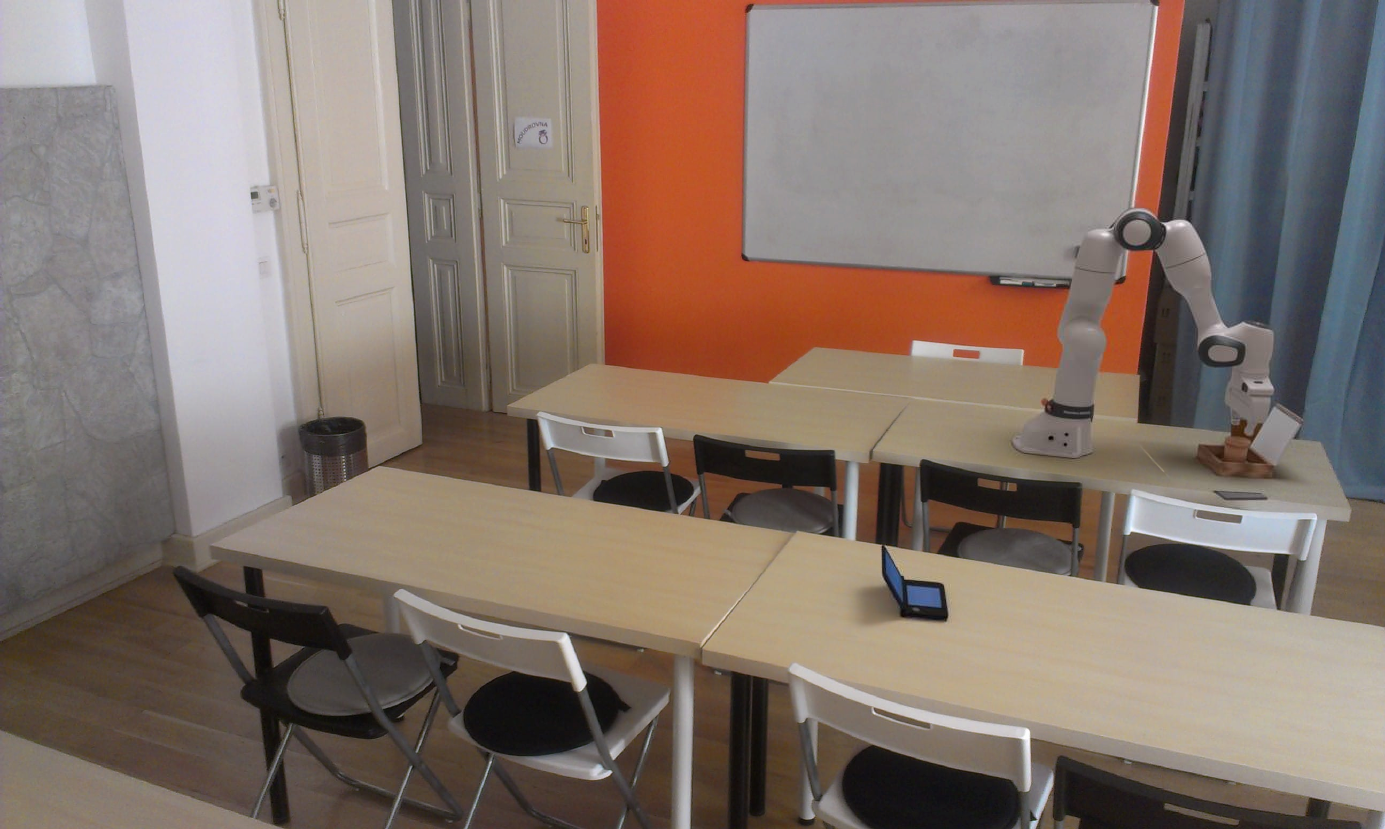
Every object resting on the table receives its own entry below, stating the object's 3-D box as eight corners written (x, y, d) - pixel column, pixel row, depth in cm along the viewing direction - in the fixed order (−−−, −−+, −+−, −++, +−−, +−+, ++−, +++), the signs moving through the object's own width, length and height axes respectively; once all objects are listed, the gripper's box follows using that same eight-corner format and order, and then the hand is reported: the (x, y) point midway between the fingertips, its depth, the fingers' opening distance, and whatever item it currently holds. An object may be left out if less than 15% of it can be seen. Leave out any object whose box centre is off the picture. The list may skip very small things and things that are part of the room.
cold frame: (1216, 478, 279) (1219, 462, 278) (1196, 458, 294) (1198, 444, 293) (1270, 481, 278) (1273, 465, 276) (1247, 461, 293) (1250, 446, 292)
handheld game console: (948, 623, 200) (952, 580, 197) (878, 617, 202) (881, 574, 199) (943, 587, 215) (947, 547, 212) (878, 582, 217) (881, 541, 214)
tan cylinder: (1225, 470, 283) (1230, 442, 281) (1216, 462, 289) (1221, 435, 287) (1249, 471, 282) (1254, 444, 280) (1240, 463, 288) (1245, 436, 286)
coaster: (1225, 499, 264) (1226, 497, 264) (1203, 484, 275) (1203, 482, 274) (1267, 499, 265) (1267, 497, 264) (1242, 484, 275) (1243, 482, 275)
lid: (1301, 419, 272) (1305, 421, 272) (1276, 402, 287) (1279, 404, 287) (1273, 465, 276) (1277, 466, 276) (1250, 446, 292) (1253, 447, 292)
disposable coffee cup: (1252, 444, 308) (1259, 405, 305) (1265, 454, 299) (1273, 415, 295) (1219, 442, 309) (1225, 404, 305) (1231, 453, 300) (1238, 413, 296)
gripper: (1222, 371, 289) (1215, 418, 293) (1251, 390, 269) (1243, 440, 273) (1246, 371, 288) (1238, 418, 292) (1277, 391, 269) (1268, 441, 273)
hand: (1241, 429), depth 282 cm, fingers open, 8 cm apart
